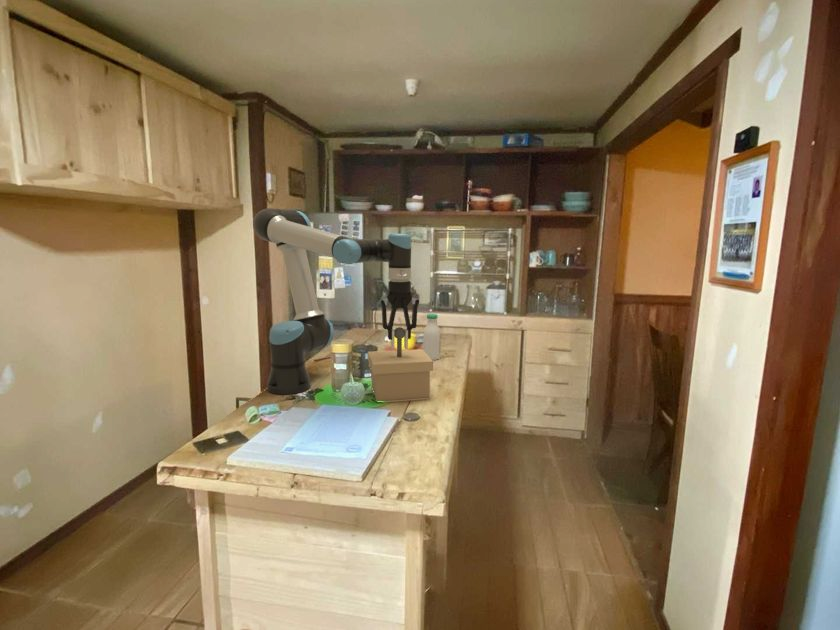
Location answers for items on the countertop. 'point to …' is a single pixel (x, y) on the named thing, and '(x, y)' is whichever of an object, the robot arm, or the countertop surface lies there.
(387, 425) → the countertop surface
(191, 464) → the countertop surface
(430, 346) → the milk bottle
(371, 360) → the carton lid
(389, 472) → the countertop surface
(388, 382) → the carton
